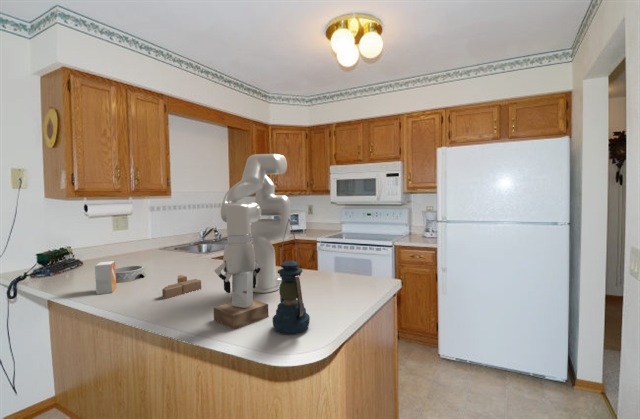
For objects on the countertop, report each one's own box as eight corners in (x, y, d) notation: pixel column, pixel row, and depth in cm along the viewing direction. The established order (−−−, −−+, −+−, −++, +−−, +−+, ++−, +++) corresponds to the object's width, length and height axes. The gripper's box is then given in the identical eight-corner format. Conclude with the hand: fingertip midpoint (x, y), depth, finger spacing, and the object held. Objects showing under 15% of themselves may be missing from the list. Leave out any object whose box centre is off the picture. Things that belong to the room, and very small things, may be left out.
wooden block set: (203, 277, 150) (164, 287, 135) (203, 289, 150) (165, 300, 136) (182, 272, 160) (144, 281, 145) (183, 284, 160) (145, 293, 146)
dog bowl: (98, 282, 166) (97, 272, 166) (128, 273, 183) (128, 264, 183) (124, 284, 161) (124, 273, 161) (153, 275, 179) (152, 265, 178)
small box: (112, 292, 146) (111, 264, 146) (95, 294, 144) (94, 265, 143) (116, 288, 154) (115, 260, 153) (101, 289, 152) (99, 261, 151)
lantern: (265, 324, 107) (262, 218, 105) (297, 316, 113) (294, 216, 112) (284, 340, 95) (281, 221, 93) (318, 331, 101) (316, 218, 100)
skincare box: (231, 306, 112) (230, 271, 111) (239, 302, 116) (238, 268, 116) (247, 308, 110) (246, 273, 109) (254, 304, 114) (253, 269, 114)
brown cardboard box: (248, 310, 122) (247, 297, 122) (268, 318, 114) (268, 304, 114) (214, 321, 112) (213, 307, 112) (233, 331, 104) (233, 315, 104)
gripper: (257, 236, 120) (259, 282, 121) (209, 241, 110) (211, 292, 111) (266, 238, 114) (268, 287, 115) (217, 243, 104) (219, 297, 105)
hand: (240, 289), depth 113 cm, fingers open, 8 cm apart
